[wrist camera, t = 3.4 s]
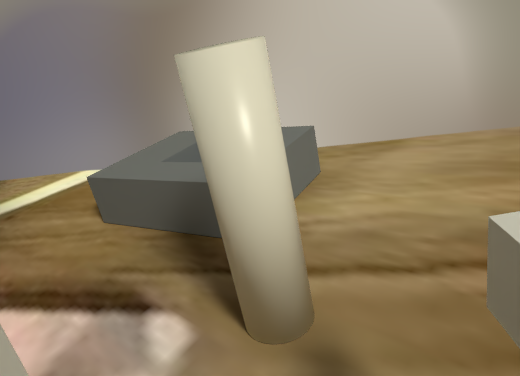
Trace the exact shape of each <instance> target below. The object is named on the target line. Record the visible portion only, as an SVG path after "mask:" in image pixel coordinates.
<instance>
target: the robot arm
mask: <svg viewBox="0 0 520 376" xmlns="http://www.w3.org/2000/svg"><path fill="white" fill-rule="evenodd" d="M487 308H488V309H489V310H490V312H491V313H492V314H493V315H494V317H495V318H496V319H497V320H498V322H499V323H500V324H501V325H502V327H503V328H504V329H505V330H506V332H507V333H508V334H509V336H510V337H511V338H512V339H513V341H514V342H515V343H516V344H517V346H518V347H519V348H520V211H518V212H513V213H507V214H501V215H495V216H489V219H488V268H487ZM0 376H29V375H28V373H27V372H26V370H25V368H24V366H23V364H22V363H21V361H20V359H19V357H18V355H17V354H16V352H15V350H14V348H13V346H12V345H11V343H10V341H9V339H8V337H7V336H6V334H5V332H4V330H3V328H2V327H1V325H0Z"/></svg>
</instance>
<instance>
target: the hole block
mask: <svg viewBox="0 0 520 376" xmlns="http://www.w3.org/2000/svg"><path fill="white" fill-rule="evenodd" d="M281 129H282V135H283V140H284V146H285V152H286V157H287V163H288V168H289V174H290V180H291V185H292V191H293V196H294V199H295V198H296V197H297V196H298V195H299V194H300V193H301V192H302V191H303V190H304V189H305V188H306V186H307V185H308V184H309V183H310V182H311V181H312V180H313V179H314V178H315V177H316V176H317V175H318V174H319V173H320V172H321V171H320V165H319V158H318V151H317V144H316V137H315V130H314V126H301V127H300V126H299V127H281ZM87 180H88V182H89V185H90V187H91V190H92V193H93V195H94V198H95V200H96V203H97V206H98V208H99V211H100V213H101V216H102V219H103V221H104V222H105V223H112V224H120V225H128V226H135V227H143V228H150V229H158V230H166V231H173V232H181V233H188V234H196V235H204V236H211V237H219V238H222V236H221V232H220V228H219V225H218V221H217V217H216V213H215V209H214V206H213V202H212V198H211V194H210V190H209V187H208V183H207V179H206V175H205V172H204V168H203V164H202V160H201V156H200V153H199V149H198V145H197V141H196V137H195V134H194V131H183V132H178V133H176V134H174V135H172V136H170V137H168V138H166V139H164V140H162V141H160V142H157V143H155V144H153V145H152V146H149V147H147V148H145V149H143V150H141V151H139V152H137V153H135V154H133V155H131V156H129V157H127V158H125V159H123V160H121V161H119V162H117V163H115V164H113V165H111V166H109V167H107V168H105V169H103V170H100V171H98V172H96V173H94V174H92V175H90V176H88V177H87Z"/></svg>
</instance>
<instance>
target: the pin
mask: <svg viewBox="0 0 520 376" xmlns="http://www.w3.org/2000/svg"><path fill="white" fill-rule="evenodd" d="M174 58H175V62H176V66H177V69H178V73H179V77H180V81H181V84H182V88H183V92H184V96H185V100H186V103H187V107H188V111H189V115H190V119H191V122H192V126H193V130H194V134H195V137H196V141H197V145H198V149H199V153H200V156H201V160H202V164H203V168H204V172H205V175H206V179H207V183H208V187H209V190H210V194H211V198H212V202H213V206H214V209H215V213H216V217H217V221H218V225H219V228H220V232H221V236H222V240H223V243H224V247H225V251H226V255H227V259H228V262H229V266H230V270H231V274H232V277H233V281H234V285H235V289H236V293H237V296H238V300H239V304H240V308H241V312H242V315H243V319H244V323H245V327H246V330H247V332H248V334H249V335H250V336H251V337H252V338H253V339H255V340H257V341H259V342H262V343H266V344H283V343H287V342H290V341H293V340H295V339H297V338H299V337H301V336H302V335H304V334H305V333H306V332H307V331H308V330H309V329H310V327H311V326H312V324H313V321H314V309H313V303H312V297H311V292H310V286H309V281H308V275H307V269H306V264H305V258H304V253H303V247H302V241H301V236H300V230H299V225H298V219H297V213H296V208H295V202H294V196H293V191H292V185H291V180H290V174H289V168H288V163H287V157H286V152H285V146H284V140H283V135H282V129H281V124H280V118H279V112H278V107H277V102H276V95H275V90H274V84H273V79H272V73H271V68H270V62H269V56H268V51H267V45H266V40H265V36H259V37H253V38H247V39H241V40H236V41H231V42H226V43H221V44H217V45H212V46H207V47H204V48H199V49H195V50H190V51H186V52H183V53H179V54H176V55H174Z"/></svg>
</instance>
